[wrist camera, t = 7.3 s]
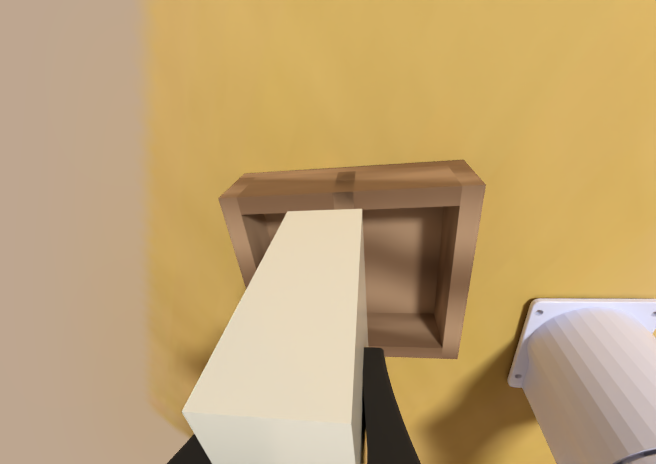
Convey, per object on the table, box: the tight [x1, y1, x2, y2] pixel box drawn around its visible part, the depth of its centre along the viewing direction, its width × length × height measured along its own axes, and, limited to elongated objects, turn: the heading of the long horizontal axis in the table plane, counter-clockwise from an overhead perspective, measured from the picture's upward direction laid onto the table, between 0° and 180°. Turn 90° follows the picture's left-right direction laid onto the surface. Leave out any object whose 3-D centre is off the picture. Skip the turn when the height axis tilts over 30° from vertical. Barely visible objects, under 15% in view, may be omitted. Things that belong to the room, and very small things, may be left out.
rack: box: [218, 160, 486, 359], centre depth 19 cm, size 12×13×4 cm
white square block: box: [182, 209, 368, 464], centre depth 11 cm, size 8×3×8 cm, turn 6°
